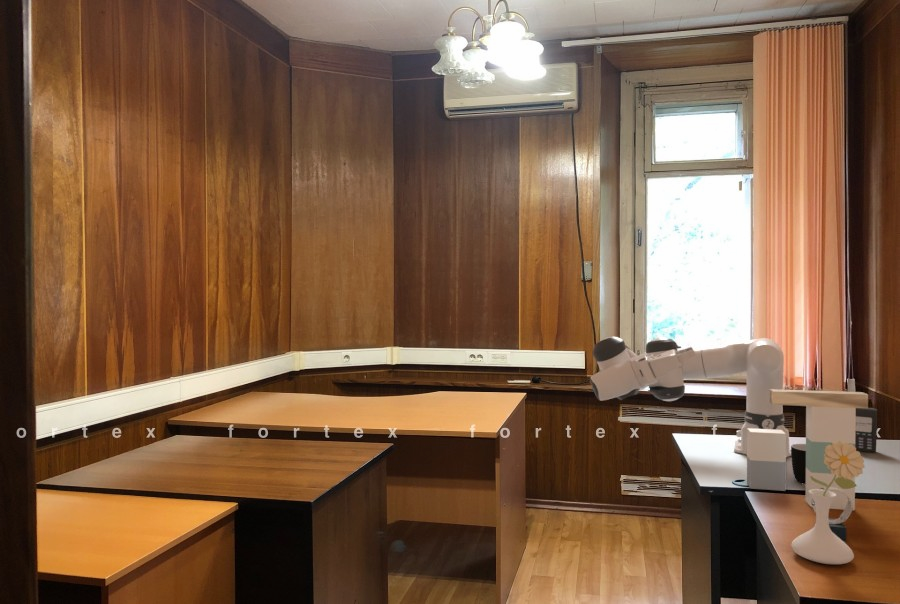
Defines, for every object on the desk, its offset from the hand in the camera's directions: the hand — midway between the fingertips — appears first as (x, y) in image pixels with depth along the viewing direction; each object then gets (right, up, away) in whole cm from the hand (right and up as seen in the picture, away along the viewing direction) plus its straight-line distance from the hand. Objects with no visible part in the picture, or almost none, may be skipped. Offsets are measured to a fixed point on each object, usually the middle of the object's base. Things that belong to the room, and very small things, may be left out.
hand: (693, 350), depth 178 cm
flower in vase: (+11, -40, -44) cm, 60 cm away
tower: (+31, -39, -11) cm, 51 cm away
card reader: (+74, -38, +44) cm, 94 cm away
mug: (+37, -39, +11) cm, 55 cm away
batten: (+28, -13, -11) cm, 33 cm away
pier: (+22, -39, +4) cm, 45 cm away
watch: (+20, -40, -31) cm, 55 cm away
